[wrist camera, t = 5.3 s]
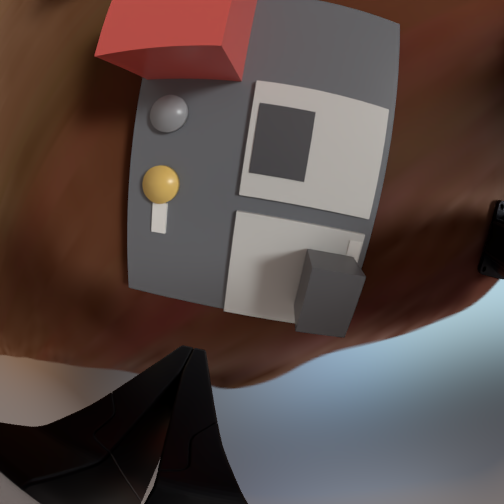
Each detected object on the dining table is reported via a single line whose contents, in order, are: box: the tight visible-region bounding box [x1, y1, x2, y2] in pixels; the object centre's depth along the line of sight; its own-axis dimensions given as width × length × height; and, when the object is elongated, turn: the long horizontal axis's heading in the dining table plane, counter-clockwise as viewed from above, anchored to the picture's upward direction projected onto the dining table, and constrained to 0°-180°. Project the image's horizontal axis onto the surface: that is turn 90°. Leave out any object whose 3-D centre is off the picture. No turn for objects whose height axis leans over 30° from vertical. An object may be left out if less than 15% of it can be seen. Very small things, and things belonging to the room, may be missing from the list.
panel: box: [127, 0, 400, 323], centre depth 16 cm, size 16×22×2 cm
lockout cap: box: [95, 0, 257, 82], centre depth 10 cm, size 6×7×6 cm
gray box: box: [294, 249, 366, 337], centre depth 16 cm, size 3×4×3 cm
